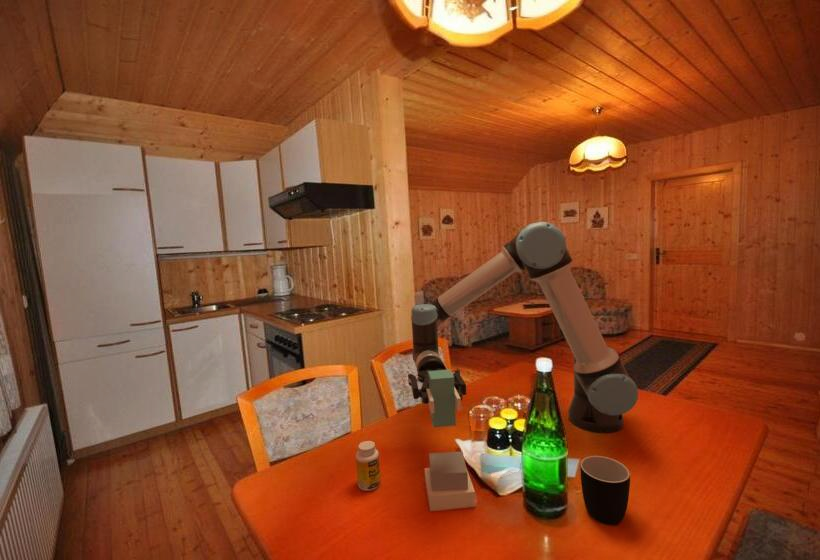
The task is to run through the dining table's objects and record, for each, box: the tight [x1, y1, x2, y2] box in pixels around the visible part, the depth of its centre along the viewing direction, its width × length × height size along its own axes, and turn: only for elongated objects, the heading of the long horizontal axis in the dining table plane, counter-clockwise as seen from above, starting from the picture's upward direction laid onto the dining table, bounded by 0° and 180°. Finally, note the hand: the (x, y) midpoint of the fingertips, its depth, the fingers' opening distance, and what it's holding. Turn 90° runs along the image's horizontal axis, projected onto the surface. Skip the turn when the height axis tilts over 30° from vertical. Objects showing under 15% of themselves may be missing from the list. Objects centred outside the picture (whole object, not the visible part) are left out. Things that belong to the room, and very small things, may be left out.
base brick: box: [424, 467, 477, 512], centre depth 85 cm, size 10×10×4 cm
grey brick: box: [428, 451, 469, 491], centre depth 85 cm, size 8×8×4 cm
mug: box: [579, 455, 631, 526], centre depth 77 cm, size 12×9×10 cm
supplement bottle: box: [355, 440, 381, 492], centre depth 89 cm, size 6×6×10 cm
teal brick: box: [428, 369, 457, 429], centre depth 83 cm, size 5×5×11 cm
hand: (445, 405), depth 78 cm, fingers closed on teal brick, 5 cm apart
